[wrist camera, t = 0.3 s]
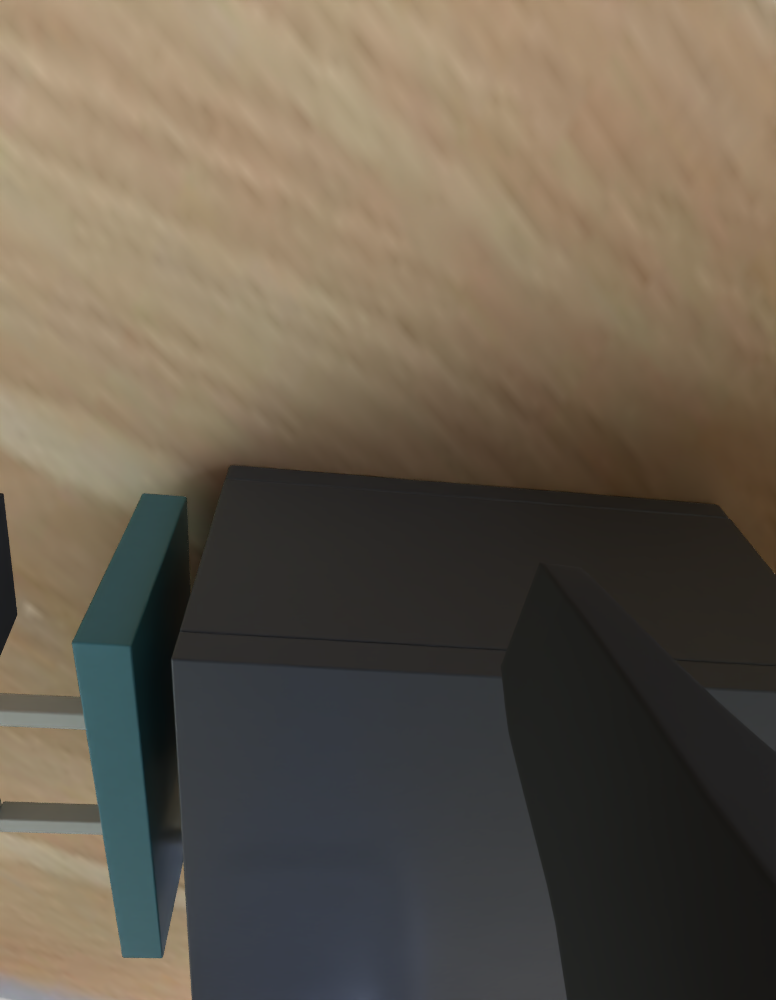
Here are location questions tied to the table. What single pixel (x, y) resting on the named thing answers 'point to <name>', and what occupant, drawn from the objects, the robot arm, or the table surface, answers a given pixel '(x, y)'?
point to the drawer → (125, 723)
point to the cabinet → (407, 721)
